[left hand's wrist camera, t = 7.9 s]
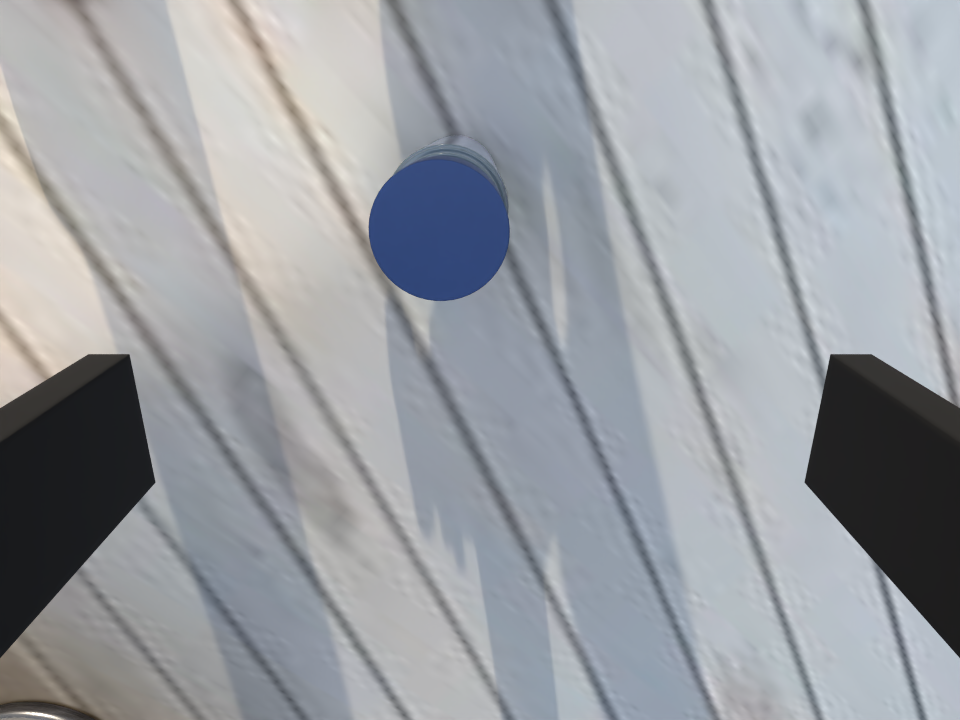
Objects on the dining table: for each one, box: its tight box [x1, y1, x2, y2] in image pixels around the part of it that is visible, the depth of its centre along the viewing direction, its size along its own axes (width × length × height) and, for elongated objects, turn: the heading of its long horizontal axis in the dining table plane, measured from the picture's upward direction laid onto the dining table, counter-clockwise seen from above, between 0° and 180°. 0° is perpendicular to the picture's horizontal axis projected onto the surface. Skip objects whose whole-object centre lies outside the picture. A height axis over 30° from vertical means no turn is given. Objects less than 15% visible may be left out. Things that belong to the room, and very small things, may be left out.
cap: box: [369, 156, 510, 301], centre depth 21 cm, size 4×4×2 cm
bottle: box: [394, 135, 508, 215], centre depth 30 cm, size 5×5×20 cm
